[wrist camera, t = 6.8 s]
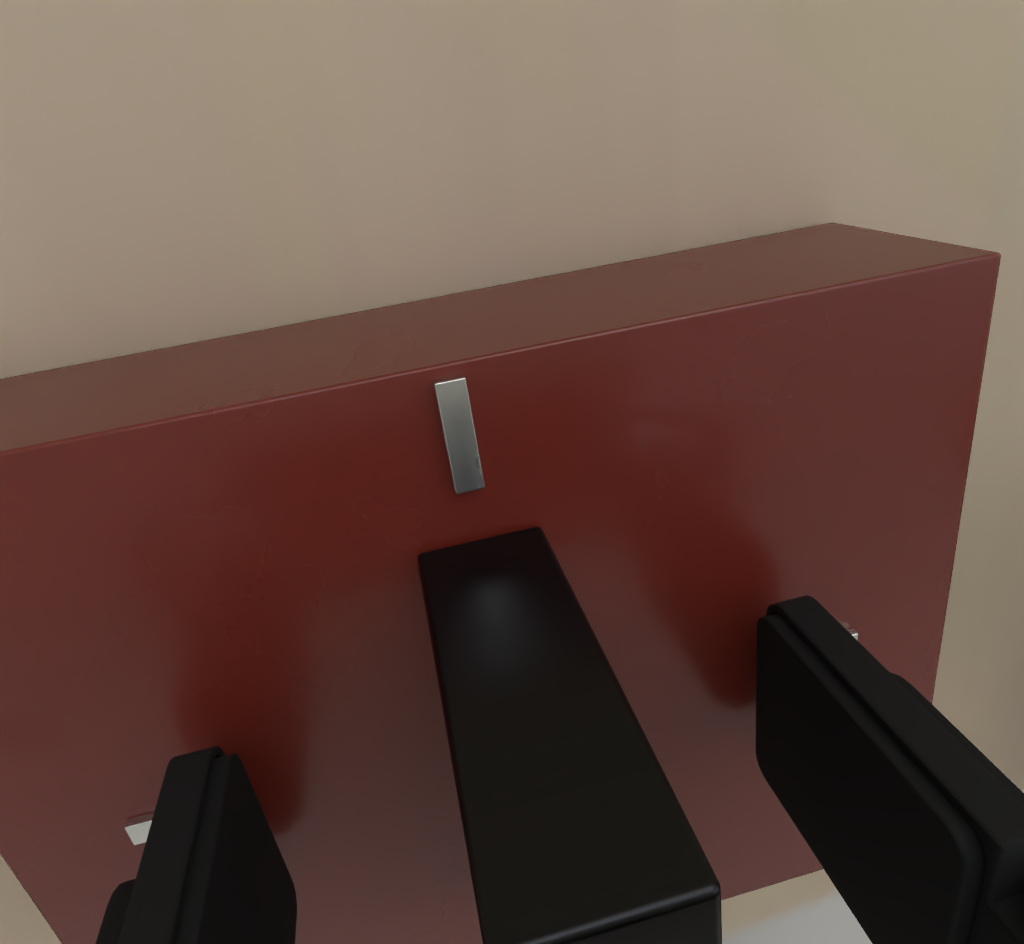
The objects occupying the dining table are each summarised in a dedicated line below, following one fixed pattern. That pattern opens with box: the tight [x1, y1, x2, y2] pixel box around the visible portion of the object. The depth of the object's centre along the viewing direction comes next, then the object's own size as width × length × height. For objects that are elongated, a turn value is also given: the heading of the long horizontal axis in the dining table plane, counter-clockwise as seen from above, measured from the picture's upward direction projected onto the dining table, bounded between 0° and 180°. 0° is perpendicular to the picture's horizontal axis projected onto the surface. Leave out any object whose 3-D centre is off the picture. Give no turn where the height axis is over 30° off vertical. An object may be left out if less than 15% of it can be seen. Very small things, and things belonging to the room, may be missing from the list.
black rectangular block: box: [417, 527, 722, 944], centre depth 8 cm, size 6×2×5 cm, turn 9°
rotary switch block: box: [0, 223, 1001, 944], centre depth 12 cm, size 14×11×4 cm
